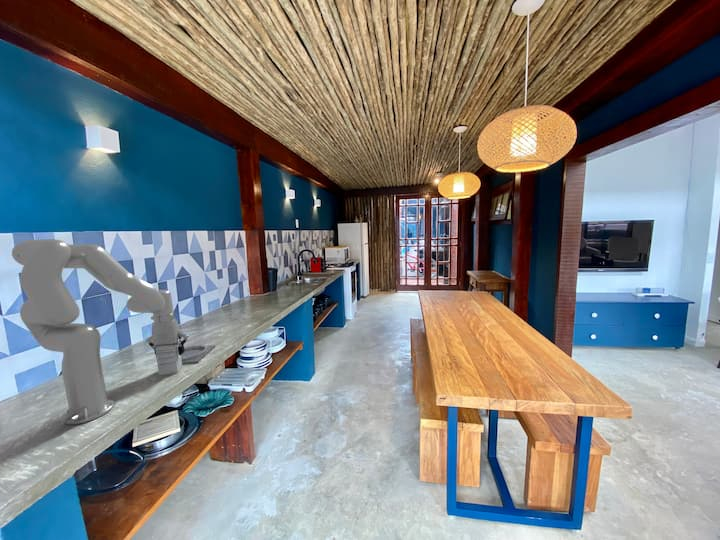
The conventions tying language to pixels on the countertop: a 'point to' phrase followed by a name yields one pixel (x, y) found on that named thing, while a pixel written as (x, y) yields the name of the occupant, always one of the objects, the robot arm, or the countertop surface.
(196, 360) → the slate board
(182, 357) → the steel ring
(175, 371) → the supplement box
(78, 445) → the countertop surface
